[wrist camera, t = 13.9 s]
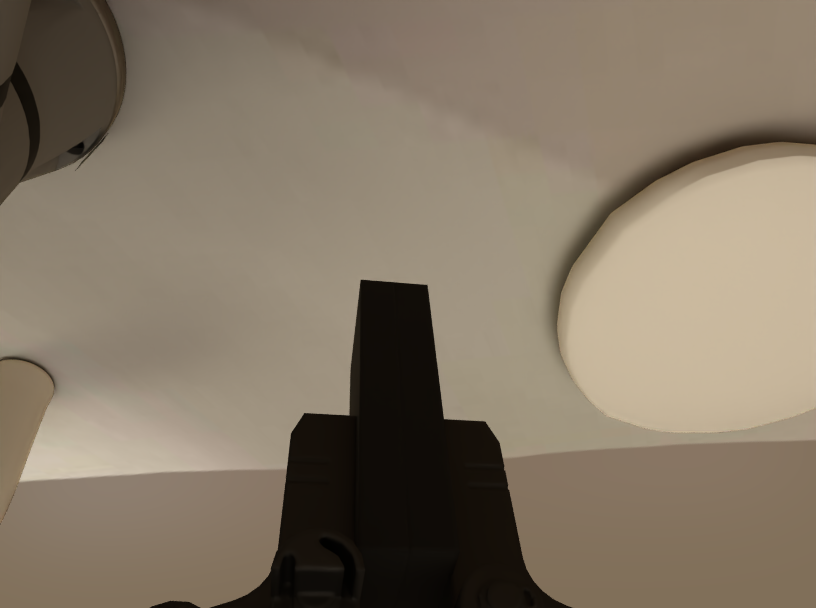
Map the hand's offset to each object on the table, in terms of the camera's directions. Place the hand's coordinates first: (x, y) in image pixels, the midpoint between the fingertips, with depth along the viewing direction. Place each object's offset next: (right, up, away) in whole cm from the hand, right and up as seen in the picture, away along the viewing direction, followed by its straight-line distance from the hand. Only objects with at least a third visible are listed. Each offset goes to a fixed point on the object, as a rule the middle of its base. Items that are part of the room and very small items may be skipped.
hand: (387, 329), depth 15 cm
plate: (+26, +2, +38) cm, 46 cm away
